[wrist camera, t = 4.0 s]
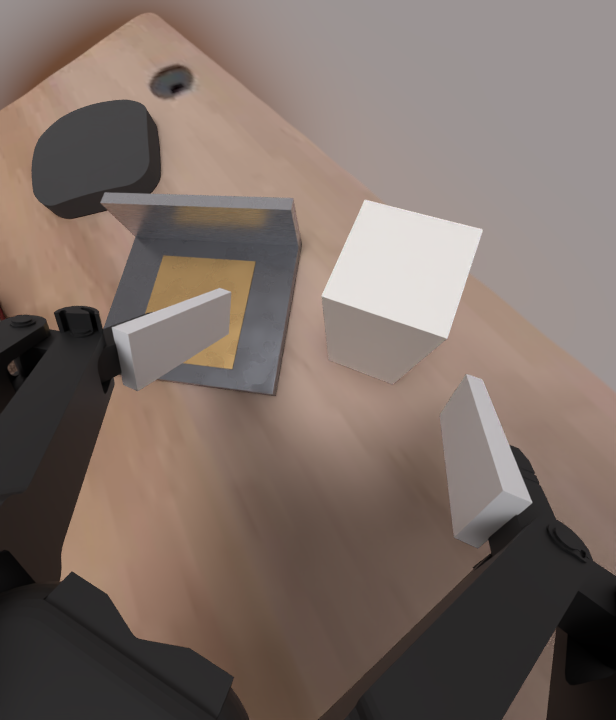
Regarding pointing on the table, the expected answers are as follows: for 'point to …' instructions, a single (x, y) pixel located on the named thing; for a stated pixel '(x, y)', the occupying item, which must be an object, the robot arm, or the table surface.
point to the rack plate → (214, 277)
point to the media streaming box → (96, 157)
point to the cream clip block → (395, 289)
